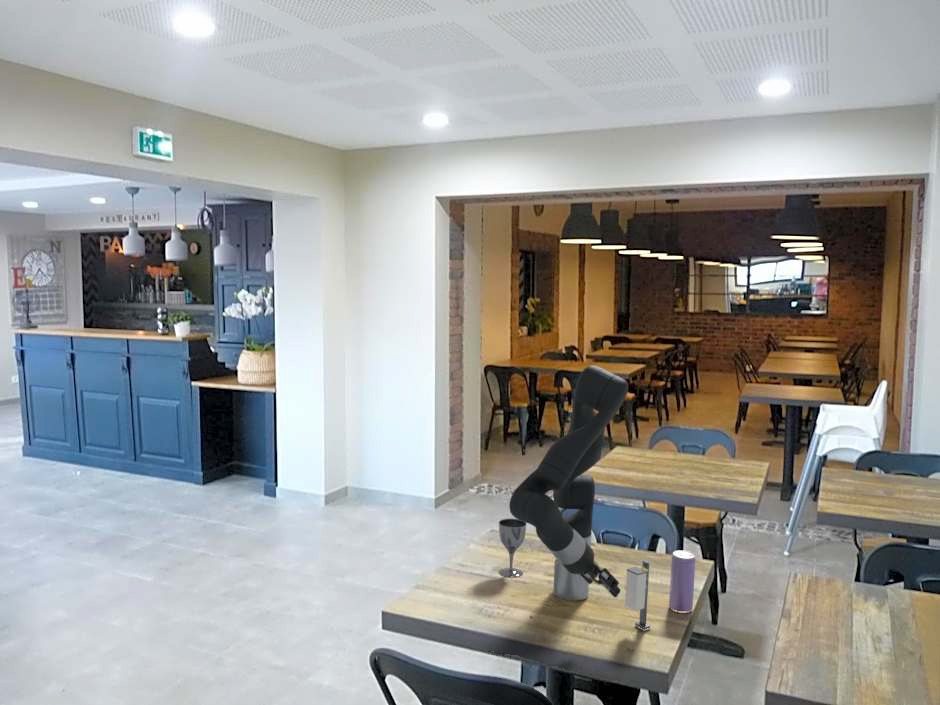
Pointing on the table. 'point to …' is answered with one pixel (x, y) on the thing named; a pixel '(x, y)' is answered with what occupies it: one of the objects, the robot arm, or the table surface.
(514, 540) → the wine glass
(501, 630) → the table surface
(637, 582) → the fader knob
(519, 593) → the table surface
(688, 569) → the beverage can
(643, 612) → the rail
